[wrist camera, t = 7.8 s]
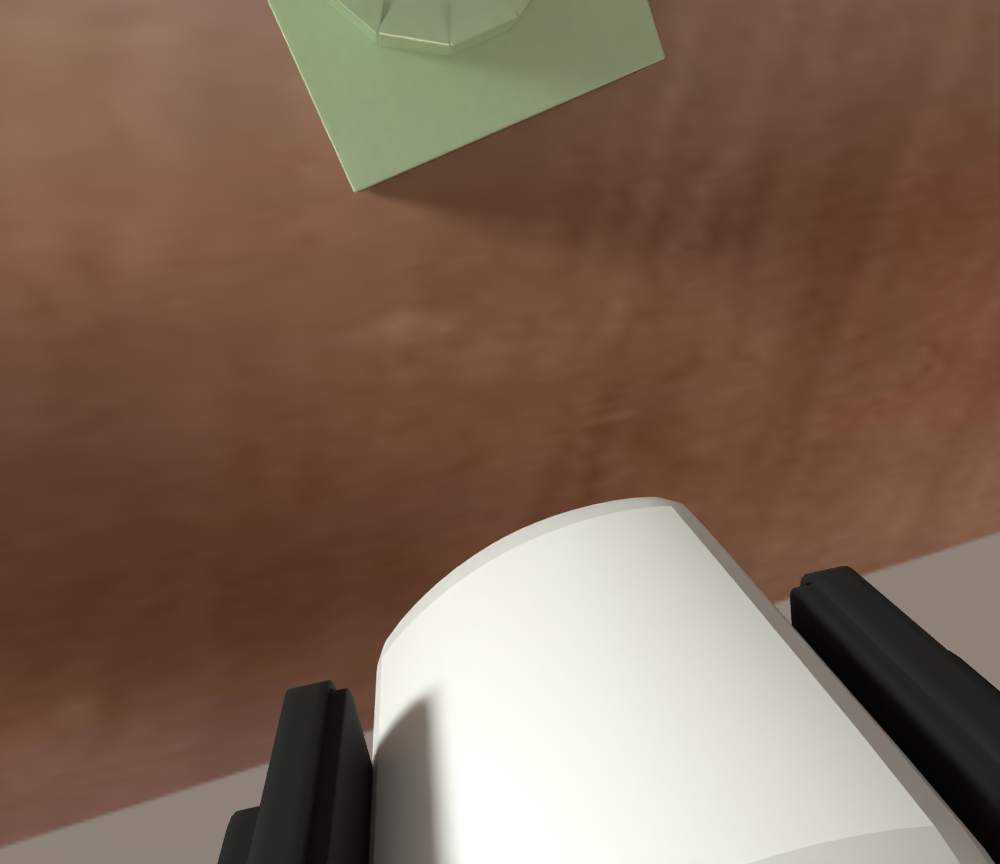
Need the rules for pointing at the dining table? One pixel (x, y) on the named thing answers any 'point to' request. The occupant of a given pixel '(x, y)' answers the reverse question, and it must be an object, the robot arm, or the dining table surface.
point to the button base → (452, 69)
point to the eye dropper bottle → (630, 715)
